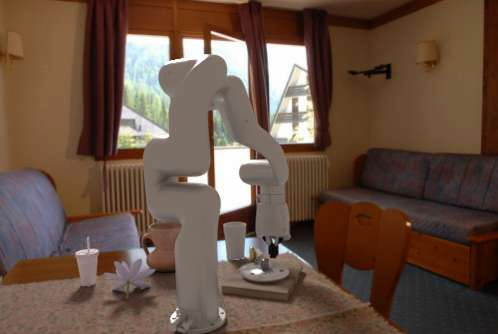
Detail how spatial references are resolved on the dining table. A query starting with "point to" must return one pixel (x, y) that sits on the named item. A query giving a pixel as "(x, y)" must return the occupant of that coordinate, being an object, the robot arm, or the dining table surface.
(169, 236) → the ceramic jug
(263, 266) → the post and dowel
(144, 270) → the water lily
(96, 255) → the smoothie
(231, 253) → the cup
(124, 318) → the dining table surface
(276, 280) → the flange plate
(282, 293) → the base board
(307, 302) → the dining table surface
